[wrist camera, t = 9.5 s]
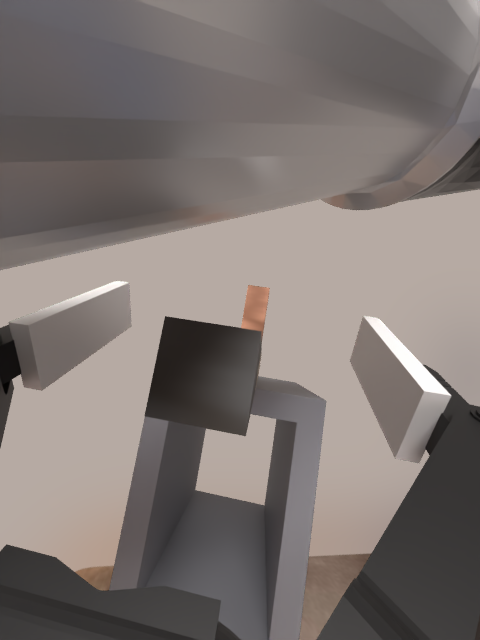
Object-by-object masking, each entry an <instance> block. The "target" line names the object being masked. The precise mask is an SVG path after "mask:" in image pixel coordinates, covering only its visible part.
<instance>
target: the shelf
mask: <svg viewBox="0 0 480 640" xmlns="http://www.w3.org/2000/svg"><path fill="white" fill-rule="evenodd" d="M325 407H326V400H324V399H322V398H321V397H319V396H317V395H316V394H314V393H312V392H310V391H309V390H307V389H305V388H304V387H302V386H300V385H299V384H297V383H294V382H289V381H282V380H277V379H271V378H265V377H259V376H258V380H257V384H256V389H255V394H254V399H253V404H252V408H251V413H250V414H253V415H259V416H264V417H270V418H276V419H277V420H276V427H275V434H274V442H273V450H272V456H271V463H270V470H269V478H268V485H267V492H266V499H265V506H264V505H259V504H255V503H251V502H246V501H241V500H237V499H232V498H228V497H223V496H219V495H214V494H210V493H205V492H201V491H196V490H195V487H196V481H197V476H198V470H199V464H200V459H201V453H202V447H203V441H204V436H205V430H206V428H202V427H196V426H191V425H186V424H181V423H176V422H171V421H166V420H161V419H155V418H150V417H145V419H144V424H143V429H142V433H141V438H140V444H139V448H138V453H137V458H136V463H135V467H134V472H133V477H132V482H131V487H130V492H129V497H128V502H127V506H126V511H125V516H124V521H123V526H122V530H121V535H120V540H119V545H118V550H117V555H116V560H115V564H114V569H113V574H112V579H111V584H110V589H109V591H110V590H122V589H134V588H145V587H157V586H168V587H171V588H175V589H179V590H183V591H187V592H191V593H195V594H198V595H202V596H206V597H210V598H214V599H218V600H221V605H220V612H219V619H218V621H219V622H221V623H222V624H223V625H225V626H226V627H227V628H229V629H230V630H231V631H232V632H233V633H234V634H235V635H236V636H238V637H239V638H240V639H241V640H299V636H300V627H301V618H302V610H303V601H304V592H305V583H306V574H307V566H308V557H309V548H310V539H311V531H312V521H313V513H314V504H315V495H316V487H317V477H318V469H319V460H320V452H321V442H322V434H323V425H324V417H325Z"/></svg>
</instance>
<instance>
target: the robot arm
mask: <svg viewBox="0 0 480 640" xmlns="http://www.w3.org/2000/svg"><path fill="white" fill-rule="evenodd" d="M478 189H480V0H0V270H3V269H8V268H12V267H17V266H21V265H26V264H30V263H35V262H39V261H44V260H48V259H53V258H57V257H62V256H66V255H71V254H75V253H80V252H84V251H89V250H93V249H98V248H102V247H107V246H111V245H116V244H120V243H125V242H129V241H134V240H138V239H143V238H147V237H152V236H157V235H161V234H166V233H170V232H175V231H179V230H184V229H188V228H192V227H197V226H201V225H206V224H211V223H215V222H220V221H224V220H229V219H233V218H238V217H242V216H247V215H251V214H255V213H260V212H265V211H269V210H274V209H278V208H283V207H287V206H292V205H296V204H301V203H305V202H310V201H314V200H319V199H321V200H323V201H324V202H326V203H328V204H330V205H333V206H336V207H340V208H342V209H350V210H370V209H375V208H381V207H385V206H389V205H392V204H395V203H398V202H402V201H406V200H413V199H419V198H426V197H433V196H439V195H446V194H452V193H459V192H465V191H471V190H478ZM130 327H131V308H130V290H129V283H128V282H121V281H115V282H112V283H110V284H107V285H104V286H102V287H99V288H97V289H94V290H92V291H89V292H86V293H84V294H81V295H79V296H76V297H73V298H70V299H68V300H65V301H63V302H60V303H57V304H55V305H52V306H49V307H47V308H44V309H42V310H39V311H36V312H34V313H31V314H29V315H26V316H23V317H21V318H18V319H15V320H13V321H10V322H9V325H7V326H5V327H2V328H0V447H1V442H2V438H3V434H4V430H5V425H6V421H7V416H8V412H9V407H10V403H11V399H12V394H13V390H14V386H13V382H12V379H13V378H15V377H16V376H18V375H20V374H21V377H22V381H23V385H24V387H26V388H31V389H36V390H43V389H45V388H46V387H48V386H49V385H50V384H52V383H53V382H55V381H56V380H57V379H59V378H60V377H62V376H63V375H64V374H66V373H67V372H68V371H70V370H71V369H73V368H74V367H75V366H77V365H78V364H80V363H81V362H82V361H84V360H85V359H87V358H88V357H89V356H91V355H92V354H94V353H95V352H96V351H97V350H99V349H101V348H102V347H103V346H105V345H106V344H107V343H109V342H110V341H112V340H113V339H114V338H116V337H117V336H119V335H120V334H121V333H123V332H124V331H126V330H127V329H128V328H130ZM350 362H351V364H352V366H353V369H354V371H355V373H356V375H357V377H358V379H359V382H360V384H361V386H362V388H363V390H364V392H365V395H366V397H367V399H368V401H369V403H370V405H371V407H372V409H373V412H374V414H375V416H376V418H377V420H378V422H379V425H380V427H381V429H382V431H383V433H384V435H385V438H386V440H387V442H388V444H389V446H390V448H391V451H392V452H393V455H394V457H395V459H400V460H405V461H410V462H415V463H419V462H420V460H421V458H422V456H423V454H424V452H425V450H427V452H428V453H429V455H430V456H429V458H428V460H427V462H426V463H425V465H424V466H423V468H422V470H421V472H420V473H419V475H418V477H417V478H416V480H415V482H414V483H413V485H412V487H411V488H410V490H409V492H408V493H407V495H406V497H405V498H404V500H403V502H402V503H401V505H400V507H399V508H398V510H397V512H396V514H395V515H394V517H393V519H392V520H391V522H390V524H389V525H388V527H387V529H386V530H385V532H384V534H383V535H382V537H381V539H380V540H379V542H378V544H377V545H376V547H375V549H374V551H373V552H372V554H371V555H370V557H369V559H368V560H367V562H366V564H365V565H364V567H363V569H362V570H361V572H360V574H359V575H358V577H357V578H356V579H354V580H353V581H352V583H351V584H350V586H349V587H348V589H347V590H346V592H345V594H344V595H343V597H342V598H341V600H340V602H339V603H338V605H337V607H336V608H335V610H334V612H333V613H332V615H331V617H330V618H329V620H328V622H327V623H326V625H325V626H324V628H323V630H322V631H321V633H320V635H319V636H318V638H317V640H480V407H478V406H474V405H469V404H468V403H467V402H466V401H465V400H464V399H463V398H462V397H461V396H460V395H459V394H458V393H457V392H456V391H455V390H454V389H453V388H451V386H450V385H449V384H448V383H447V382H445V380H444V379H443V378H442V377H441V376H440V375H439V374H438V373H437V372H436V371H434V370H433V369H431V368H429V367H428V366H426V365H422V364H421V363H420V362H419V361H418V360H417V359H416V358H415V357H414V355H413V354H412V353H411V352H410V351H409V350H408V349H407V348H406V347H405V346H404V345H403V344H402V343H401V342H400V341H399V340H398V339H397V337H395V335H394V334H393V333H392V332H391V331H390V330H389V329H388V328H387V327H386V326H385V325H384V324H383V323H382V322H381V321H380V320H379V318H374V317H367V316H363V318H362V322H361V325H360V329H359V332H358V335H357V339H356V342H355V346H354V349H353V353H352V356H351V359H350ZM220 605H221V600H218V599H214V598H210V597H206V596H202V595H198V594H195V593H191V592H187V591H183V590H179V589H175V588H171V587H168V586H157V587H145V588H134V589H122V590H110V591H101V590H98V589H96V588H94V587H93V586H92V585H90V584H89V583H88V582H86V581H85V580H84V579H83V578H81V577H80V576H79V575H78V574H76V573H75V572H74V571H72V570H71V569H70V568H69V567H67V566H66V565H65V564H63V563H62V562H61V561H60V560H58V559H57V558H56V557H52V556H49V555H45V554H41V553H37V552H33V551H29V550H26V549H22V548H18V547H14V546H10V545H6V546H5V547H4V548H3V549H2V550H1V551H0V640H241V639H240V638H239V637H238V636H236V635H235V634H234V633H233V632H232V631H231V630H230V629H229V628H227V627H226V626H225V625H223V624H222V623H221V622H219V621H218V619H219V612H220Z"/></svg>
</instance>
